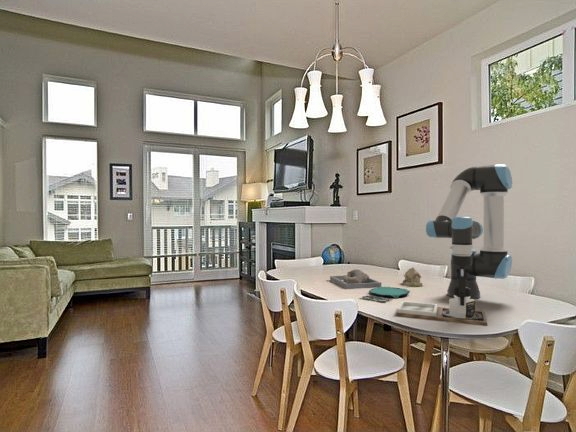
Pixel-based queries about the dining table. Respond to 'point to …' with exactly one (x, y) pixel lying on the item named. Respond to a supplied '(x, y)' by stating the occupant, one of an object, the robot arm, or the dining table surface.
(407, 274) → the ceramic model
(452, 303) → the medicine bottle
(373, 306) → the dining table surface
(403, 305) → the board
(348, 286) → the grey rectangular tray
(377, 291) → the cutlery set
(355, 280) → the grey rounded lump
